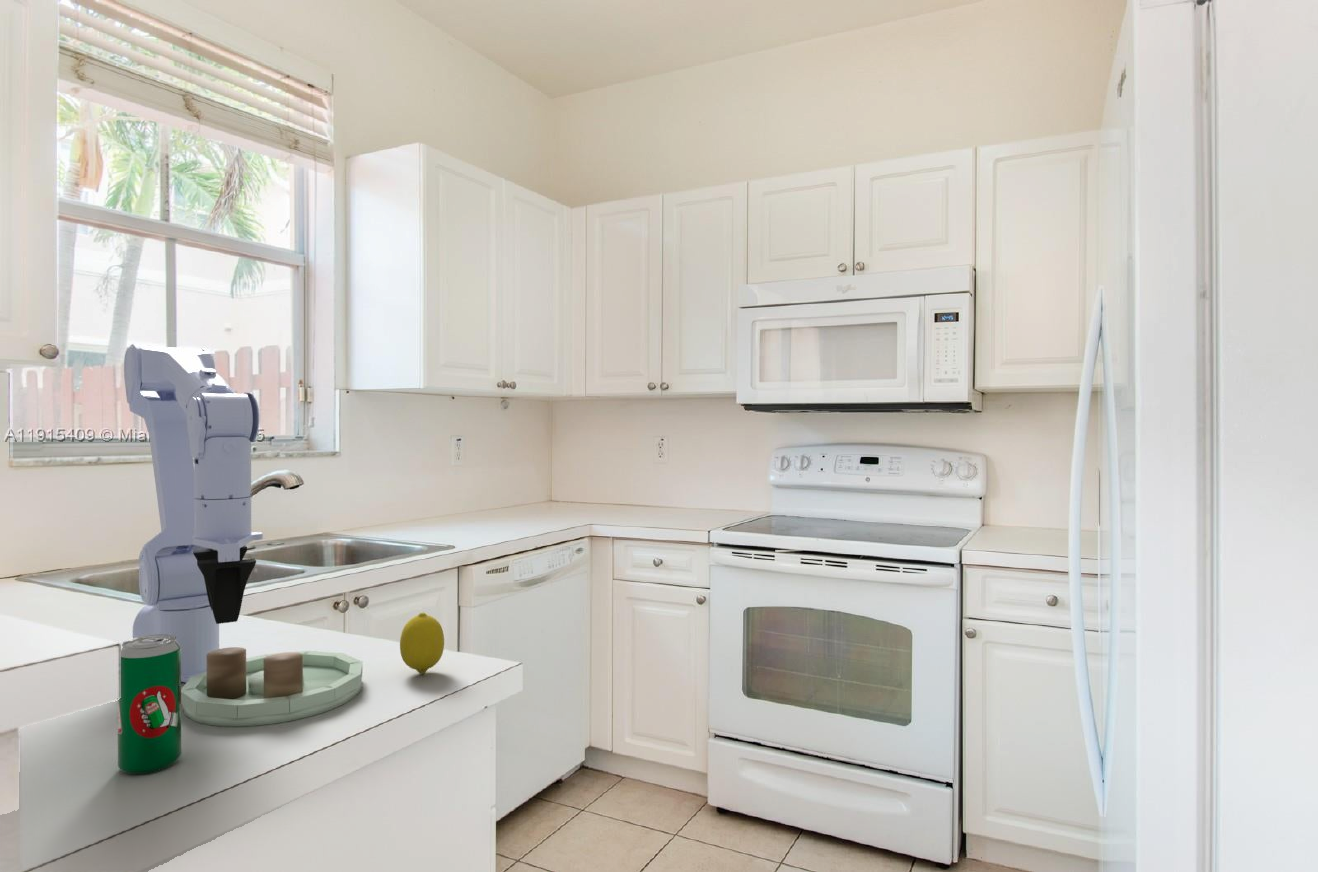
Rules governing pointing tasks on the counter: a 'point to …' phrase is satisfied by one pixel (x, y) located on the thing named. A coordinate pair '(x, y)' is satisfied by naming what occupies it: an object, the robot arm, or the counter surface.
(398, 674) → the counter surface
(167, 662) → the soda can
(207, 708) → the tray
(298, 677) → the bead
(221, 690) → the bead
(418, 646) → the lemon
